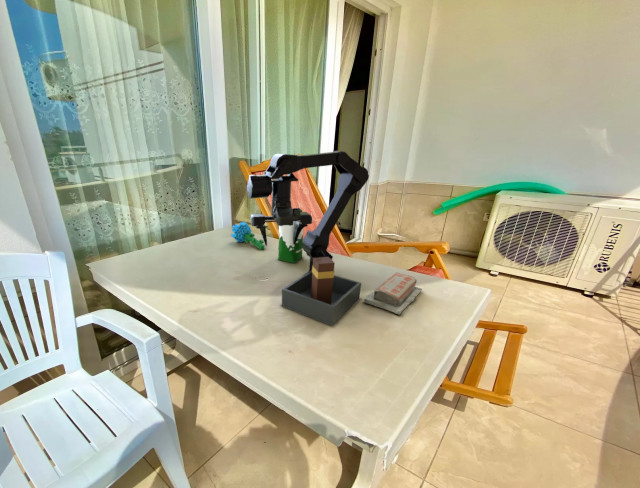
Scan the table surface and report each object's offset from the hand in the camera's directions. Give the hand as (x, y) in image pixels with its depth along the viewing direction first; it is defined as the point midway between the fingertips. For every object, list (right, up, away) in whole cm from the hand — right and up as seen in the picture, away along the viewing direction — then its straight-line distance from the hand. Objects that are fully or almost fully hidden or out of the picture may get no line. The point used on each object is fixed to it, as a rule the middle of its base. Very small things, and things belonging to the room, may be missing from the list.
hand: (280, 244), depth 98 cm
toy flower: (-9, +1, +40) cm, 41 cm away
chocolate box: (+11, -17, -10) cm, 22 cm away
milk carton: (+7, -5, +23) cm, 25 cm away
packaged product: (+33, -16, -8) cm, 37 cm away
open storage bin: (+11, -17, -9) cm, 22 cm away
